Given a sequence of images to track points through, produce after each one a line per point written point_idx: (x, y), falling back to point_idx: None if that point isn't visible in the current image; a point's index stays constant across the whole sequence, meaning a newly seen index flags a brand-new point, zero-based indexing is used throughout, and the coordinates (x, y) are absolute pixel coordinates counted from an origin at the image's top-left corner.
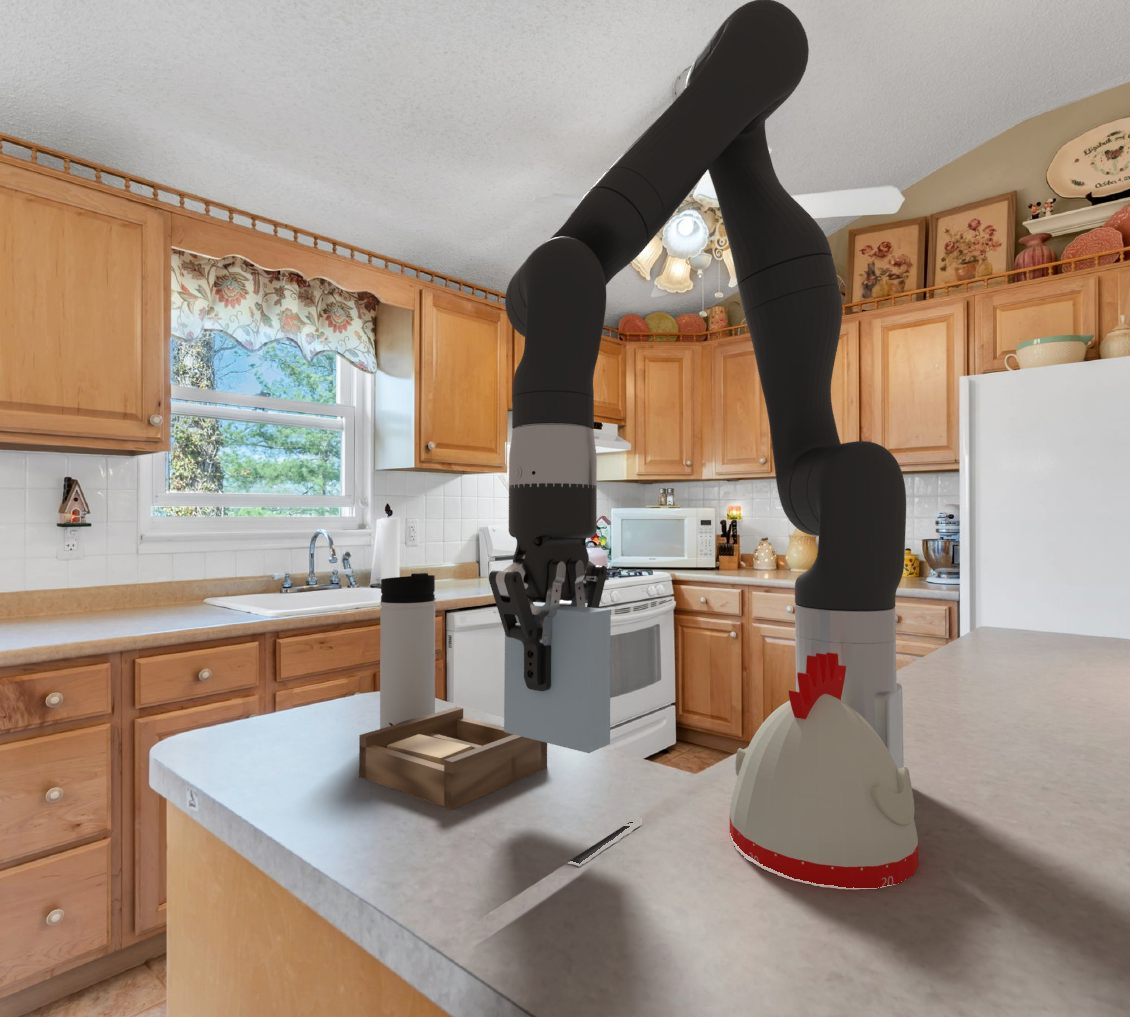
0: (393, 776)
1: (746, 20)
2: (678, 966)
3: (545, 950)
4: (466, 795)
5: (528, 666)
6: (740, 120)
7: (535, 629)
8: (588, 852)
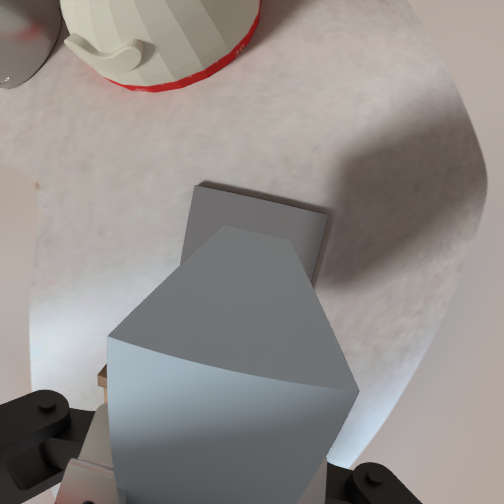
0: None
1: None
2: (426, 92)
3: (448, 192)
4: None
5: None
6: None
7: (361, 485)
8: (310, 211)
